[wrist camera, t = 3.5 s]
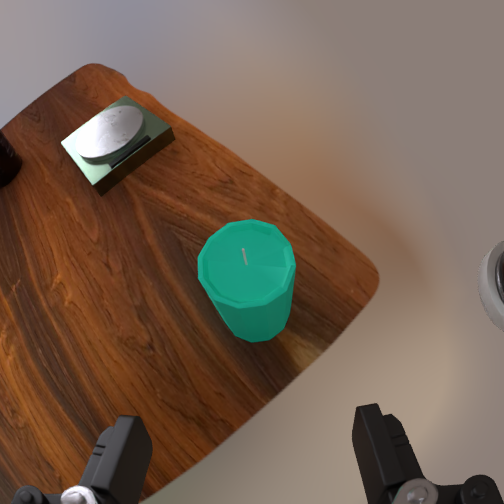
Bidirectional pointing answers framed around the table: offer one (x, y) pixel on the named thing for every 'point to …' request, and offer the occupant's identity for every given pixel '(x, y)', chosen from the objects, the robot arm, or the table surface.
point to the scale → (117, 143)
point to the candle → (249, 277)
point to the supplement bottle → (8, 161)
